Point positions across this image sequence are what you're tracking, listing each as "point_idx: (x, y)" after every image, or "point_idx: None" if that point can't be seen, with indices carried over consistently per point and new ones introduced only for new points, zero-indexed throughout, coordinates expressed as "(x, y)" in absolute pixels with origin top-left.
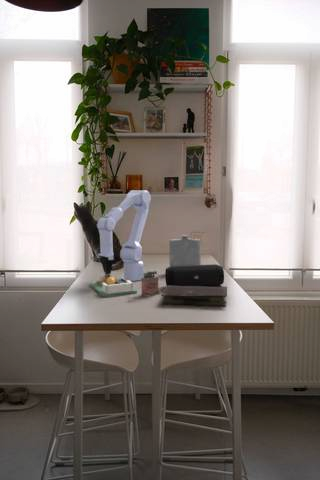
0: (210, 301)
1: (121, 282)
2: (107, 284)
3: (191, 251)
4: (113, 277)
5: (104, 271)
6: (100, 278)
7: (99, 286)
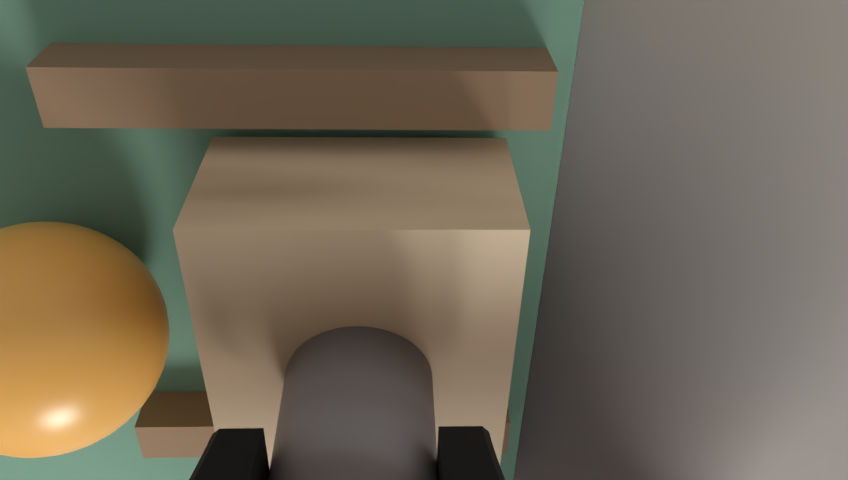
0: None
1: None
2: None
3: None
4: None
5: (444, 457)
6: (451, 199)
7: (68, 4)
